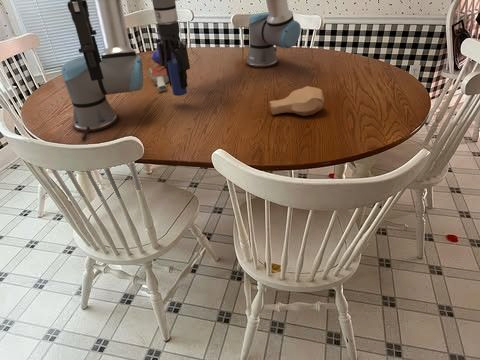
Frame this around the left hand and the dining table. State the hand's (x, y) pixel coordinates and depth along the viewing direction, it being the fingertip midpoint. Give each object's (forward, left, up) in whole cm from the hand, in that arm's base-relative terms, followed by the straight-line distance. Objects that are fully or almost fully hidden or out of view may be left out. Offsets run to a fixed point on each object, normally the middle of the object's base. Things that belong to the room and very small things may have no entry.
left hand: (97, 70), depth 88 cm
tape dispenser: (+71, +2, -30) cm, 78 cm away
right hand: (+45, -10, -22) cm, 51 cm away
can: (+45, -10, -25) cm, 52 cm away
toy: (+99, +6, -30) cm, 104 cm away
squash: (+34, -54, -30) cm, 71 cm away
